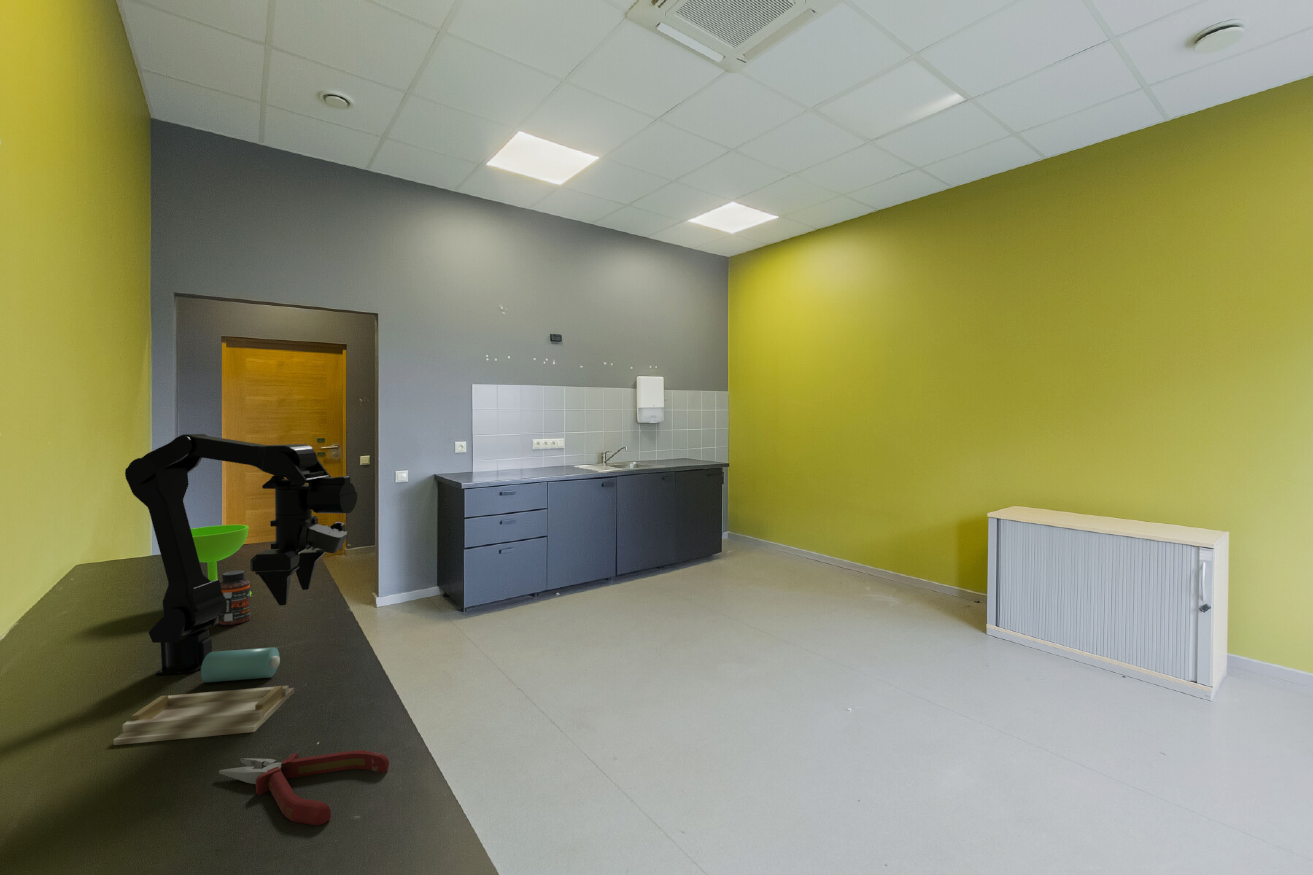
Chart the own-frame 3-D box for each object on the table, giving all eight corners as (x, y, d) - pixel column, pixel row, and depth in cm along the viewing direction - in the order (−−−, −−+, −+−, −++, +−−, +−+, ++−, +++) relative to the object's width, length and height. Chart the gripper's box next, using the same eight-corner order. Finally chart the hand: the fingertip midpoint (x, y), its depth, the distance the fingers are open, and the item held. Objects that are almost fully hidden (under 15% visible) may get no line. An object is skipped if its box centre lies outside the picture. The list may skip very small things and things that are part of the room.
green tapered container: (220, 610, 137) (216, 536, 137) (154, 611, 137) (151, 537, 137) (266, 590, 153) (263, 524, 153) (208, 591, 153) (205, 525, 153)
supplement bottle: (233, 627, 125) (231, 576, 125) (211, 625, 126) (209, 575, 126) (257, 617, 131) (255, 569, 131) (236, 616, 132) (234, 568, 132)
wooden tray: (113, 745, 79) (112, 726, 79) (172, 702, 91) (172, 687, 91) (254, 731, 82) (253, 714, 82) (294, 692, 94) (293, 677, 94)
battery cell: (201, 687, 97) (200, 659, 97) (219, 674, 102) (217, 647, 101) (270, 681, 98) (269, 653, 98) (284, 669, 103) (283, 642, 103)
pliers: (270, 749, 78) (270, 730, 78) (394, 770, 73) (393, 750, 73) (183, 804, 67) (181, 783, 67) (321, 833, 62) (320, 810, 62)
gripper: (320, 521, 96) (321, 611, 97) (358, 504, 114) (359, 580, 115) (248, 522, 94) (249, 615, 95) (298, 505, 113) (299, 583, 113)
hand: (294, 596), depth 104 cm, fingers open, 9 cm apart
